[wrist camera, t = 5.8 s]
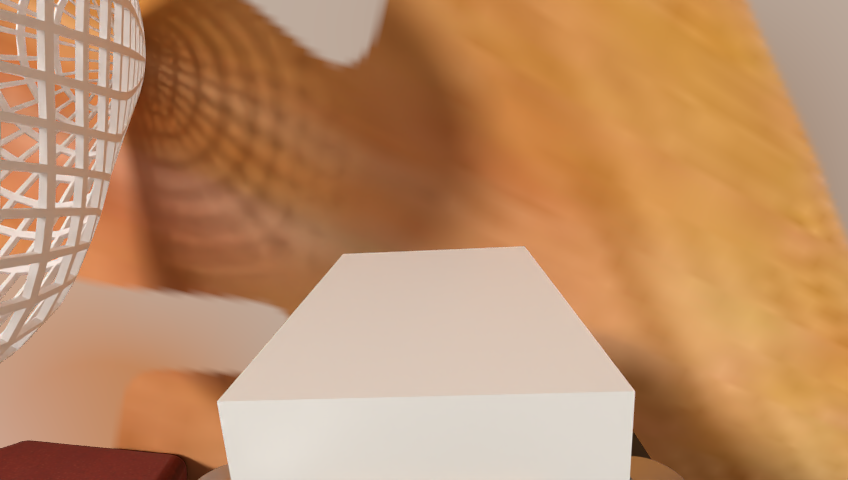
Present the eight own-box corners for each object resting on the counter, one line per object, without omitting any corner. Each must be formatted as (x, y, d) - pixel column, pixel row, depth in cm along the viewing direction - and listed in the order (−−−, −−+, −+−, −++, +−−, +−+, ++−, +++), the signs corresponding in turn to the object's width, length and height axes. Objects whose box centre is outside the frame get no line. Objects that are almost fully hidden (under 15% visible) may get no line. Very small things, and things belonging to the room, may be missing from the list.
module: (343, 254, 12) (208, 411, 5) (524, 246, 12) (642, 400, 5) (363, 463, 14) (281, 805, 7) (524, 460, 13) (615, 813, 6)
